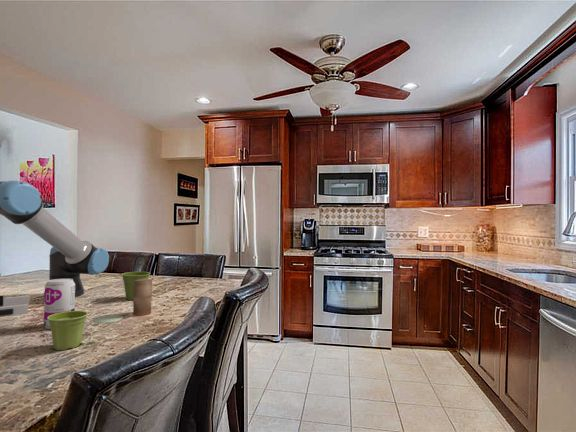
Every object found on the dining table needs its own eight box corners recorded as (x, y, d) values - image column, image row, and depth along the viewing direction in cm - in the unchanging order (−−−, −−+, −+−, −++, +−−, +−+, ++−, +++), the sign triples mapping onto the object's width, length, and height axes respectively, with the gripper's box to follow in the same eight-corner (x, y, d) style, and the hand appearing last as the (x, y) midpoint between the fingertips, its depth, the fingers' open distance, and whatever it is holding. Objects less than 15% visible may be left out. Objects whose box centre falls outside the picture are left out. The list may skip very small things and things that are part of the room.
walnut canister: (131, 312, 119) (132, 279, 119) (148, 310, 122) (149, 278, 123) (135, 316, 114) (136, 282, 114) (153, 314, 118) (153, 280, 118)
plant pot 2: (142, 302, 139) (143, 275, 140) (115, 301, 140) (115, 275, 140) (154, 295, 151) (154, 271, 151) (129, 295, 152) (129, 271, 152)
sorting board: (89, 318, 115) (89, 315, 115) (149, 310, 127) (149, 306, 127) (96, 331, 102) (96, 327, 102) (161, 320, 115) (161, 316, 115)
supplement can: (58, 331, 102) (59, 283, 103) (37, 328, 104) (38, 281, 104) (80, 323, 110) (81, 278, 111) (59, 321, 112) (60, 277, 112)
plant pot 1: (59, 340, 95) (60, 310, 95) (93, 339, 95) (94, 310, 96) (37, 353, 85) (38, 320, 85) (75, 352, 86) (76, 319, 86)
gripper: (-60, 317, 99) (29, 307, 112) (-85, 342, 79) (27, 326, 92) (-59, 293, 99) (30, 285, 112) (-84, 311, 80) (27, 300, 92)
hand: (28, 304), depth 102 cm, fingers open, 13 cm apart
